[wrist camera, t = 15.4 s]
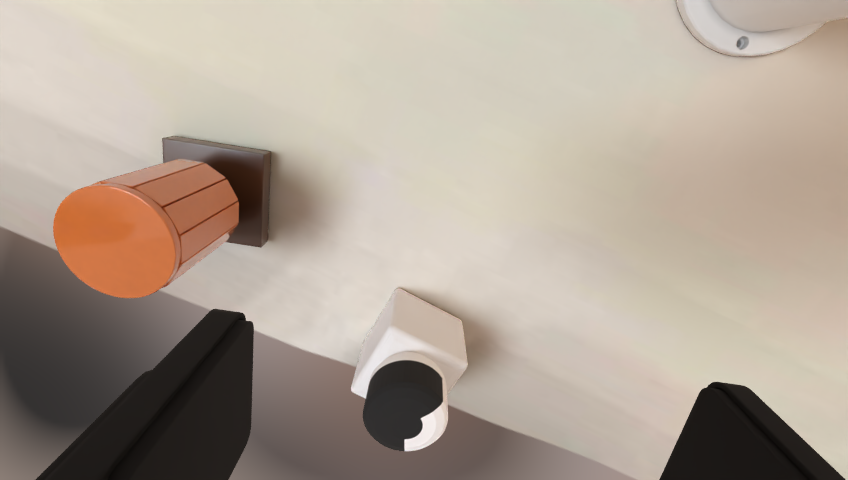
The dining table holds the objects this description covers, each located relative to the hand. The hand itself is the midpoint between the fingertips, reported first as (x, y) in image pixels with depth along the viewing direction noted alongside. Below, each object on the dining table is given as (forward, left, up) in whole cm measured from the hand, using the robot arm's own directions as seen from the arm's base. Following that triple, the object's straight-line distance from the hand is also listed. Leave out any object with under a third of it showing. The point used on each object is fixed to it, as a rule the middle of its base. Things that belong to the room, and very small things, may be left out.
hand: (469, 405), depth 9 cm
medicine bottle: (+16, 0, -28) cm, 33 cm away
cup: (+5, -18, -24) cm, 30 cm away
